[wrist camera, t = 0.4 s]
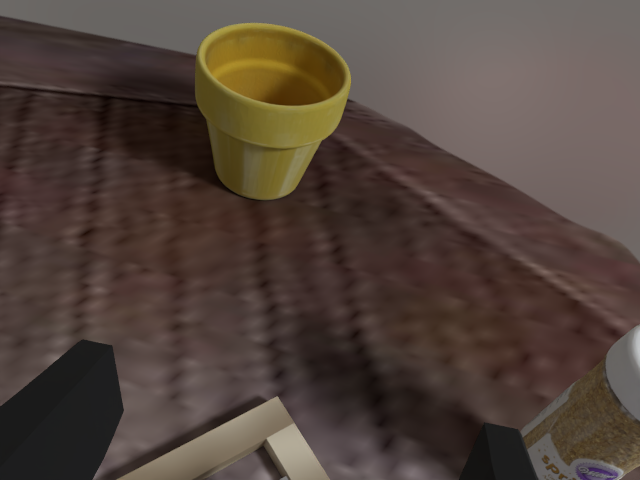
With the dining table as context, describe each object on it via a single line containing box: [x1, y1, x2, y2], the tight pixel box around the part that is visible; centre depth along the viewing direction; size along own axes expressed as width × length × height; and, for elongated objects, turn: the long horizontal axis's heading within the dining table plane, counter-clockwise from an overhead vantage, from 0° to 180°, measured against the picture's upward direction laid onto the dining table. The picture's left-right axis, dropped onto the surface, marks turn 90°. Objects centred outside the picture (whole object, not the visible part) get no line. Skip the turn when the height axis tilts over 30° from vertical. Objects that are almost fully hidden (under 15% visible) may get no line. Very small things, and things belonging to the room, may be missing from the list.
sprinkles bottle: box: [520, 325, 640, 480], centre depth 28 cm, size 5×5×14 cm
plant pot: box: [195, 23, 351, 200], centre depth 42 cm, size 10×10×10 cm
